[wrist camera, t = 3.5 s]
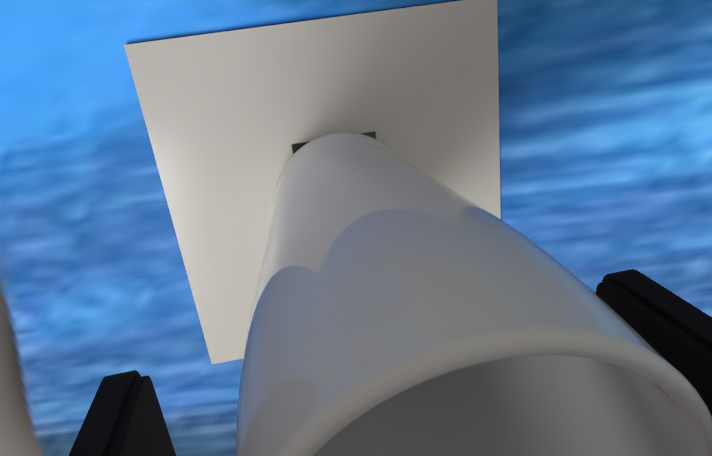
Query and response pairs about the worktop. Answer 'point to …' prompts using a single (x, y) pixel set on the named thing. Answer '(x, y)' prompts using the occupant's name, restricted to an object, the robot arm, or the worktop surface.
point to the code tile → (308, 126)
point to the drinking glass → (436, 331)
